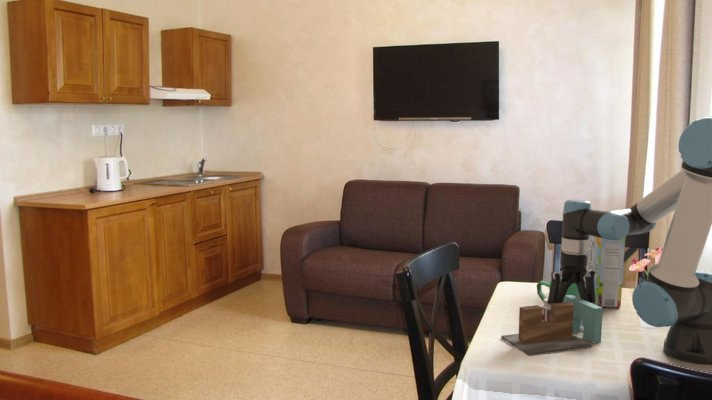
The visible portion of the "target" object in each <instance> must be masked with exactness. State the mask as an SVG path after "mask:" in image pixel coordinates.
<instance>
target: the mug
mask: <svg viewBox="0 0 712 400" xmlns="http://www.w3.org/2000/svg"><path fill="white" fill-rule="evenodd" d="M560 281H561V279H560ZM565 283H566V282H565ZM542 286H545V287H547V288H548V290H549V291H550V286H551V281H546V280H540V281H539V282H537V284H536V291H537V292H536V293H537V296H538V297H539V298H540V299H541V301H542V302H543V301H544V299H545V298H547V297H546V296H545V294H544V292H543V290H542ZM559 287H560V285H559ZM566 295H573V296H575V297H578V298H579V296H580V295H579V292H578V289H577V285H576V284H575V283H574V284H571V286H570V287H569V288H568V290H567V293H566ZM563 302H564V300H563Z"/></svg>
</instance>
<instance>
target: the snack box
mask: <svg viewBox="0 0 712 400" xmlns="http://www.w3.org/2000/svg"><path fill="white" fill-rule="evenodd" d="M626 238H627V236H626V237H624V238H623V239H622V240H619V241H616V240H607V239H604V238H599V237H595V236H590V235H589V244H588V252H587V253H586V254H587V255H588V260H587V266H586V269H589V270H592V271H594V272H595V275H594V290H595V302H594V303H593V304H595V305H597V306H599V307H602V308H621V306H622V291H623V287H622V286H623V278H624V277H623V276H624V264H625V263H624V262H625V249H626ZM583 278H584V281H585V276H584V277H583ZM585 288H586V283H585Z"/></svg>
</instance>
